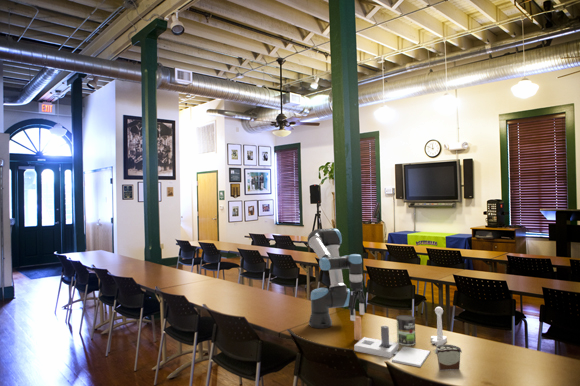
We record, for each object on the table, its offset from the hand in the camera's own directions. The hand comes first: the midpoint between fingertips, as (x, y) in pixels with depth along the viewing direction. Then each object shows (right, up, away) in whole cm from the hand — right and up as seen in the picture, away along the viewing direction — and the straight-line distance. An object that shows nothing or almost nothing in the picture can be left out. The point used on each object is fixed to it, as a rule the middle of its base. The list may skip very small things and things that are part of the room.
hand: (357, 317), depth 227 cm
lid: (+22, -12, -27) cm, 37 cm away
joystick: (+44, -12, -8) cm, 46 cm away
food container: (+36, -11, -41) cm, 55 cm away
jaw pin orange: (0, -13, 0) cm, 13 cm away
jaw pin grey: (+12, -12, -19) cm, 25 cm away
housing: (+7, -12, -16) cm, 22 cm away
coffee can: (+26, -12, -7) cm, 30 cm away
